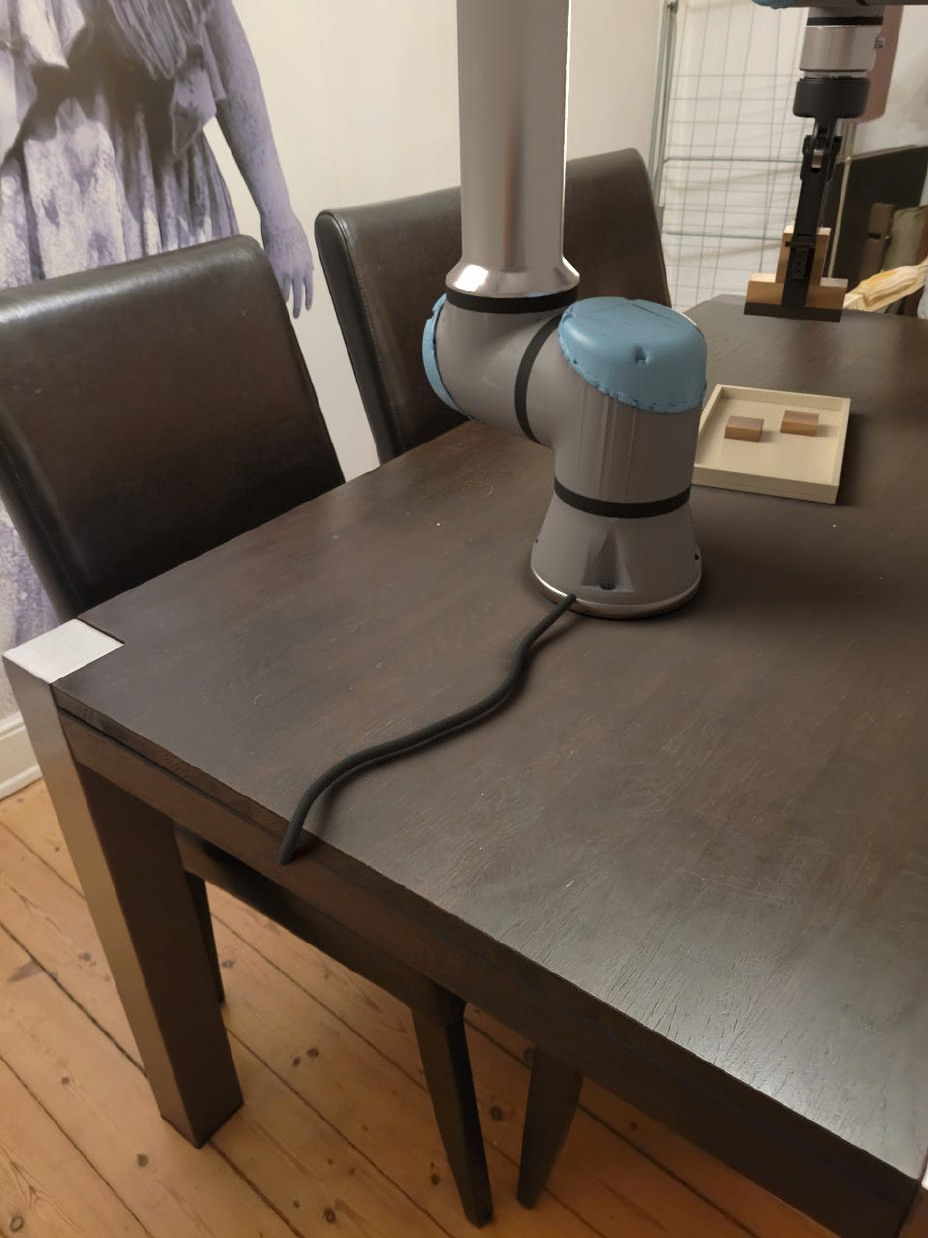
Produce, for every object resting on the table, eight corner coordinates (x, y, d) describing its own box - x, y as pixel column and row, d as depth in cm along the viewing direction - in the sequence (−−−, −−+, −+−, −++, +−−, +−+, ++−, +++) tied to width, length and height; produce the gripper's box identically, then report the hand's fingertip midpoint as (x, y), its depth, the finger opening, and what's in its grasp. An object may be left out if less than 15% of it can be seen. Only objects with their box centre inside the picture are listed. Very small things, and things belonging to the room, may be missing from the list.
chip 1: (758, 442, 108) (760, 430, 108) (723, 438, 110) (725, 426, 109) (762, 430, 111) (764, 418, 111) (728, 426, 113) (730, 414, 112)
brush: (839, 322, 108) (857, 236, 103) (743, 314, 112) (755, 230, 106) (841, 313, 112) (858, 229, 106) (747, 305, 115) (760, 223, 110)
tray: (834, 504, 96) (838, 485, 95) (674, 481, 101) (676, 463, 100) (847, 414, 117) (851, 398, 116) (714, 399, 122) (716, 383, 121)
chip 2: (814, 437, 110) (817, 425, 109) (779, 432, 111) (781, 420, 110) (817, 425, 113) (819, 413, 112) (783, 421, 114) (785, 409, 113)
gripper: (870, 78, 90) (822, 321, 103) (874, 71, 104) (831, 286, 116) (790, 78, 92) (753, 315, 105) (804, 70, 106) (770, 281, 119)
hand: (794, 299), depth 111 cm, fingers closed on brush, 4 cm apart
